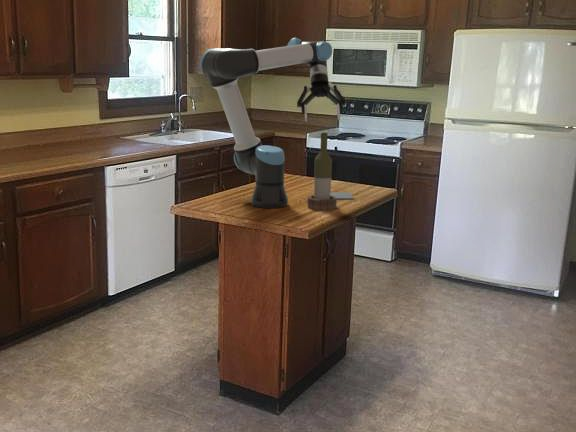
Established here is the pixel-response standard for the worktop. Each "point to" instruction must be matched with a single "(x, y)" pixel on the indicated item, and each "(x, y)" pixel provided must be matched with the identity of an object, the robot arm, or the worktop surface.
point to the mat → (342, 195)
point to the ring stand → (322, 203)
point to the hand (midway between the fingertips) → (322, 119)
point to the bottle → (322, 171)
